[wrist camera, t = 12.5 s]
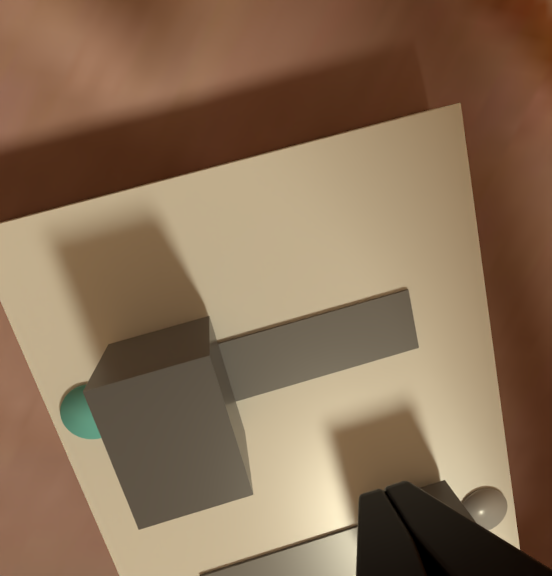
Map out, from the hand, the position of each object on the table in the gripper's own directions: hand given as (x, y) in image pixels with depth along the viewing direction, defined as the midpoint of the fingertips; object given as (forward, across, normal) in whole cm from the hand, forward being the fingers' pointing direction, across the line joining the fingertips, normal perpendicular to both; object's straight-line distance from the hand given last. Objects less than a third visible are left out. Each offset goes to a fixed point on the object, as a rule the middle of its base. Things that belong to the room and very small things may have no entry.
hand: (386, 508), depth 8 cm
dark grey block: (+7, +4, 0) cm, 8 cm away
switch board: (+9, +1, +8) cm, 13 cm away
